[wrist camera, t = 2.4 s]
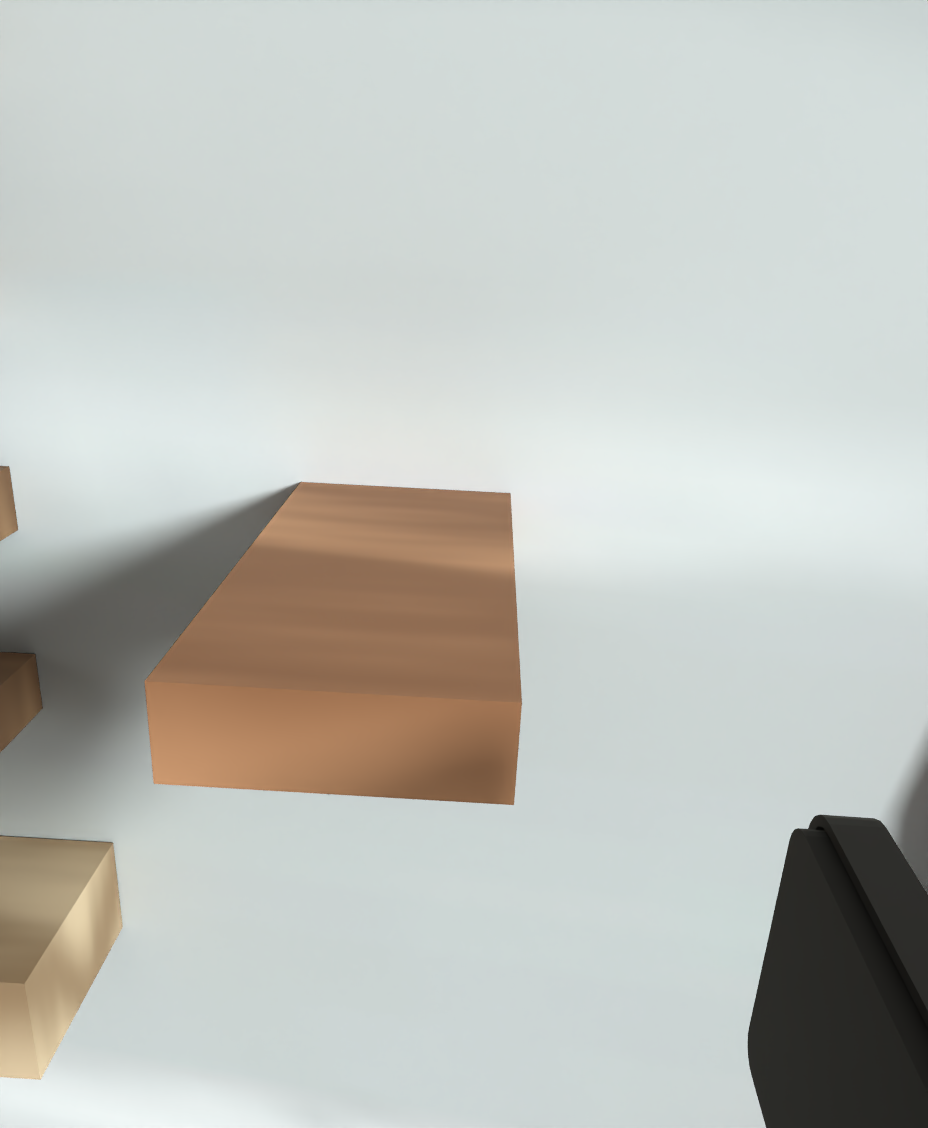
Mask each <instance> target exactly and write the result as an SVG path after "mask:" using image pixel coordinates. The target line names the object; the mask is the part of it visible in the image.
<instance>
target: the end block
mask: <svg viewBox="0 0 928 1128" xmlns="http://www.w3.org/2000/svg"><path fill="white" fill-rule="evenodd" d="M122 927H123V926H122V918H121V909H120V900H119V891H118V882H117V873H116V865H115V856H114V847H113V843H107V842H90V841H74V840H57V839H41V838H24V837H8V836H0V1077H9V1078H24V1079H40V1080H41V1078H42V1076H43V1074H44V1072H45V1070H46V1068H47V1067H48V1065H49V1063H50V1061H51V1059H52V1057H53V1055H54V1054H55V1052H56V1050H57V1048H58V1046H59V1044H60V1042H61V1041H62V1039H63V1037H64V1035H65V1033H66V1031H67V1029H68V1028H69V1026H70V1024H71V1022H72V1020H73V1018H74V1016H75V1015H76V1013H77V1011H78V1009H79V1007H80V1005H81V1003H82V1002H83V1000H84V998H85V996H86V994H87V992H88V990H89V989H90V987H91V985H92V983H93V981H94V979H95V977H96V976H97V974H98V972H99V970H100V968H101V966H102V964H103V963H104V961H105V959H106V957H107V955H108V953H109V951H110V950H111V948H112V946H113V944H114V942H115V940H116V938H117V937H118V935H119V933H120V931H121V929H122Z"/></svg>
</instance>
